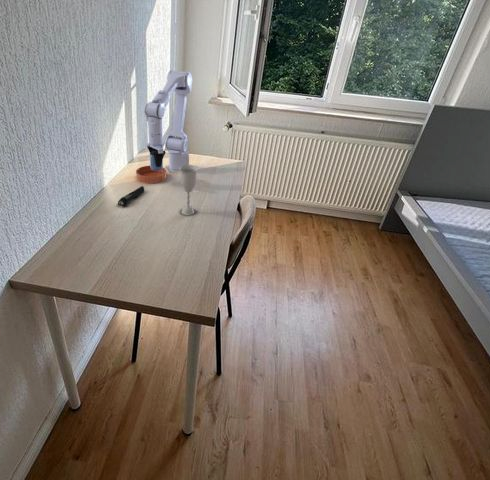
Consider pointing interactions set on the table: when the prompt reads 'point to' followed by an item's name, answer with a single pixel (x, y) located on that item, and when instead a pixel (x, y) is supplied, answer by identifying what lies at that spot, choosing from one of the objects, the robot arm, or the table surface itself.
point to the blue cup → (152, 163)
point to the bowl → (150, 175)
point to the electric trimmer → (130, 196)
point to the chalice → (188, 185)
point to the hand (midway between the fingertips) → (156, 164)
